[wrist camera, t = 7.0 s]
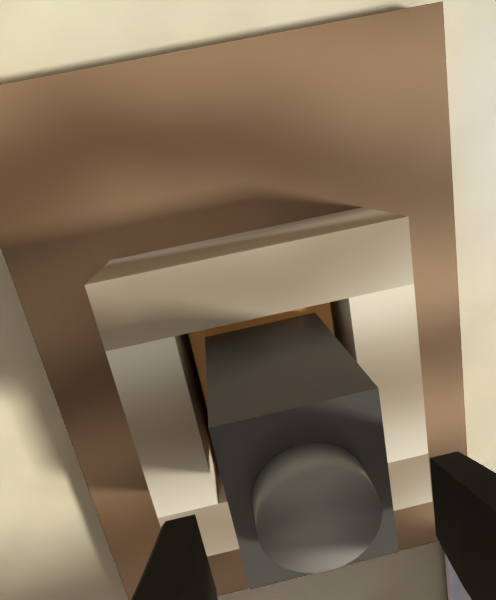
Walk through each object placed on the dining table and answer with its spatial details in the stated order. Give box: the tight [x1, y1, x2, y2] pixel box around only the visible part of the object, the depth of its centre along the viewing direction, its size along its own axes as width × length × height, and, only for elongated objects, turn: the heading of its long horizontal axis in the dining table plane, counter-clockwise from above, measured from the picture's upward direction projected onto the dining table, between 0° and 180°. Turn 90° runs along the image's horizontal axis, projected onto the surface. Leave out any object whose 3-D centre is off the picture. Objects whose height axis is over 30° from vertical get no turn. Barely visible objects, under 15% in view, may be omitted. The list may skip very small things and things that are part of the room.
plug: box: [205, 313, 399, 589], centre depth 12 cm, size 4×4×6 cm
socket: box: [0, 1, 467, 600], centre depth 16 cm, size 22×16×5 cm
